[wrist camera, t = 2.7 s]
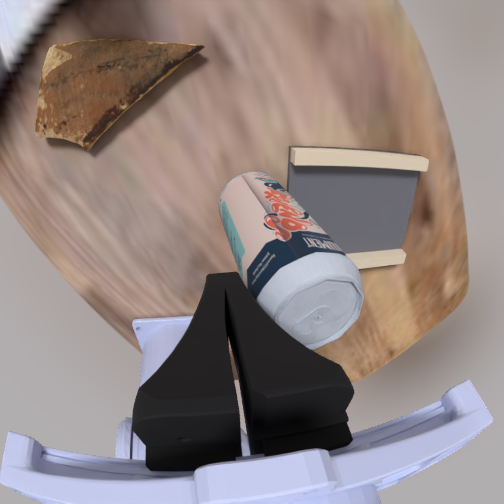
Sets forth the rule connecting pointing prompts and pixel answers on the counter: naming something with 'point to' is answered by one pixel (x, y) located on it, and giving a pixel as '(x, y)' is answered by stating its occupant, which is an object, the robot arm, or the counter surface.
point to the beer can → (289, 261)
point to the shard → (100, 83)
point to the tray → (357, 198)
